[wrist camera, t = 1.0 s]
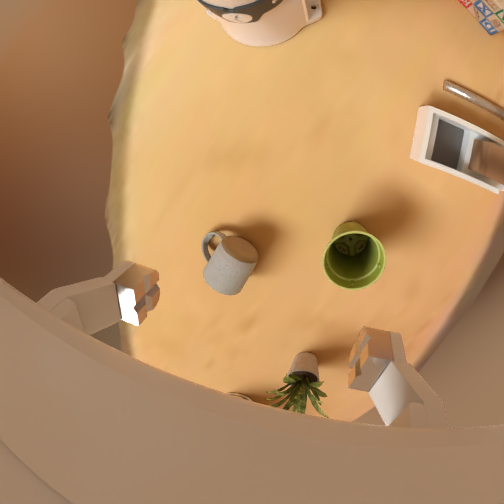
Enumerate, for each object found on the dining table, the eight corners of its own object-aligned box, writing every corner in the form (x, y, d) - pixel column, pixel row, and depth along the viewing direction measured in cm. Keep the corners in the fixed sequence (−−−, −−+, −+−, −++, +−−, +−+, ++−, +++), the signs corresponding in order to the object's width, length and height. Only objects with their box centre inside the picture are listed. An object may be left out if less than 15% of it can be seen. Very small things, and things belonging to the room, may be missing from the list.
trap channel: (418, 106, 33) (429, 105, 29) (523, 157, 29) (538, 162, 25) (409, 157, 37) (418, 162, 33) (512, 200, 33) (526, 209, 29)
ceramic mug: (265, 248, 50) (254, 268, 44) (246, 280, 54) (233, 303, 48) (214, 218, 51) (196, 233, 44) (199, 252, 55) (180, 271, 48)
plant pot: (388, 231, 43) (399, 254, 36) (356, 272, 48) (359, 300, 40) (343, 200, 43) (347, 217, 36) (312, 245, 48) (309, 269, 40)
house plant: (257, 348, 62) (237, 405, 48) (308, 325, 55) (298, 388, 41) (294, 383, 64) (281, 438, 50) (343, 364, 58) (339, 425, 44)
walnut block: (474, 138, 30) (492, 142, 25) (496, 150, 29) (515, 155, 24) (467, 168, 33) (485, 176, 27) (489, 178, 32) (508, 187, 26)
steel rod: (443, 92, 30) (447, 84, 28) (441, 85, 31) (445, 77, 29) (507, 124, 28) (511, 118, 26) (504, 117, 28) (509, 111, 27)
